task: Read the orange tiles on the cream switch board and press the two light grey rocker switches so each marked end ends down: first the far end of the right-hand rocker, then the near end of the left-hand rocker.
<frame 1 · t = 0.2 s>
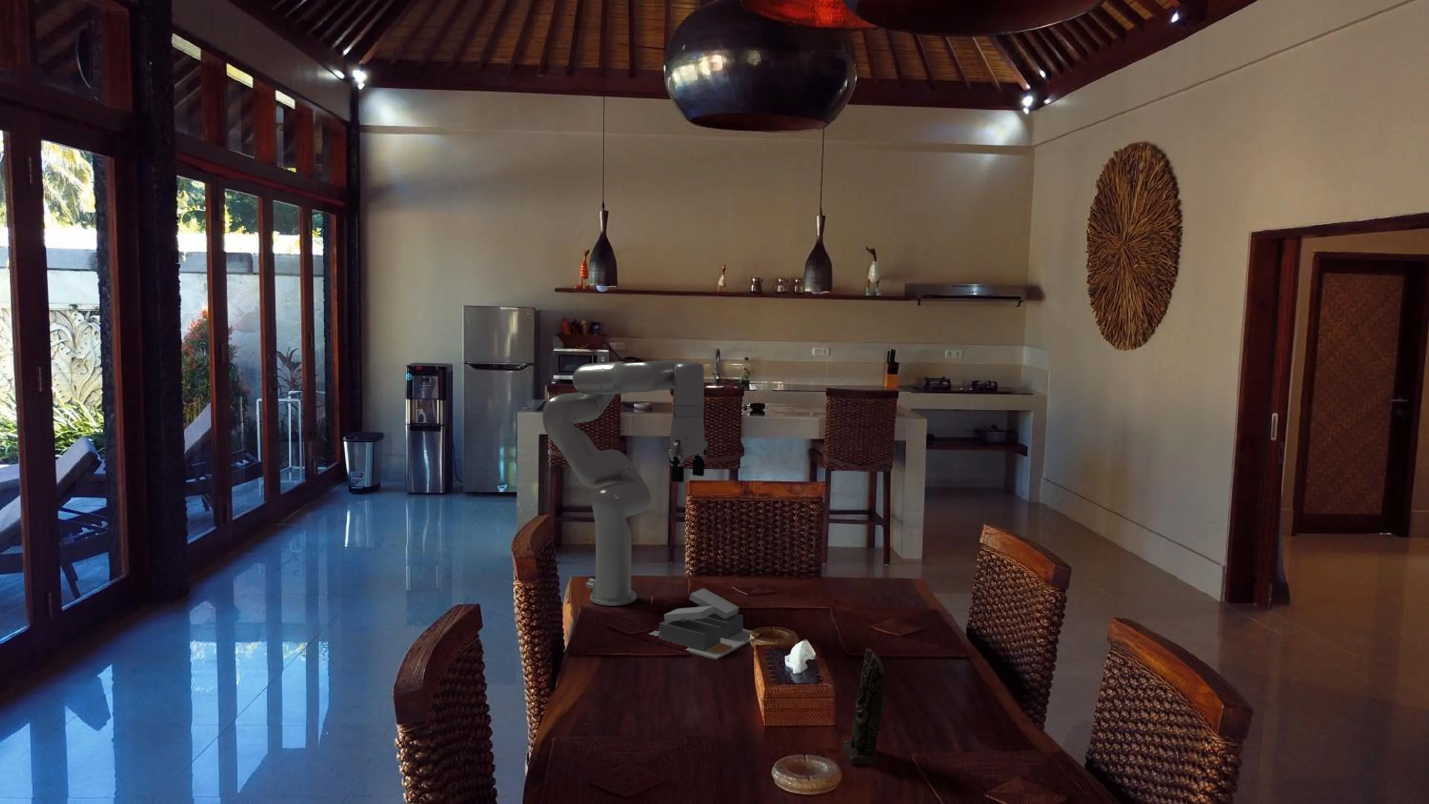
hand: (688, 478, 251), 36 cm above the table, tool pointing down, fingers open, 9 cm apart
statue: (864, 756, 181), on the table
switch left: (713, 604, 244), point 7 cm above the table, hinge at 15.0°
switch right: (689, 614, 236), point 7 cm above the table, hinge at -15.0°
switch board: (701, 637, 241), on the table
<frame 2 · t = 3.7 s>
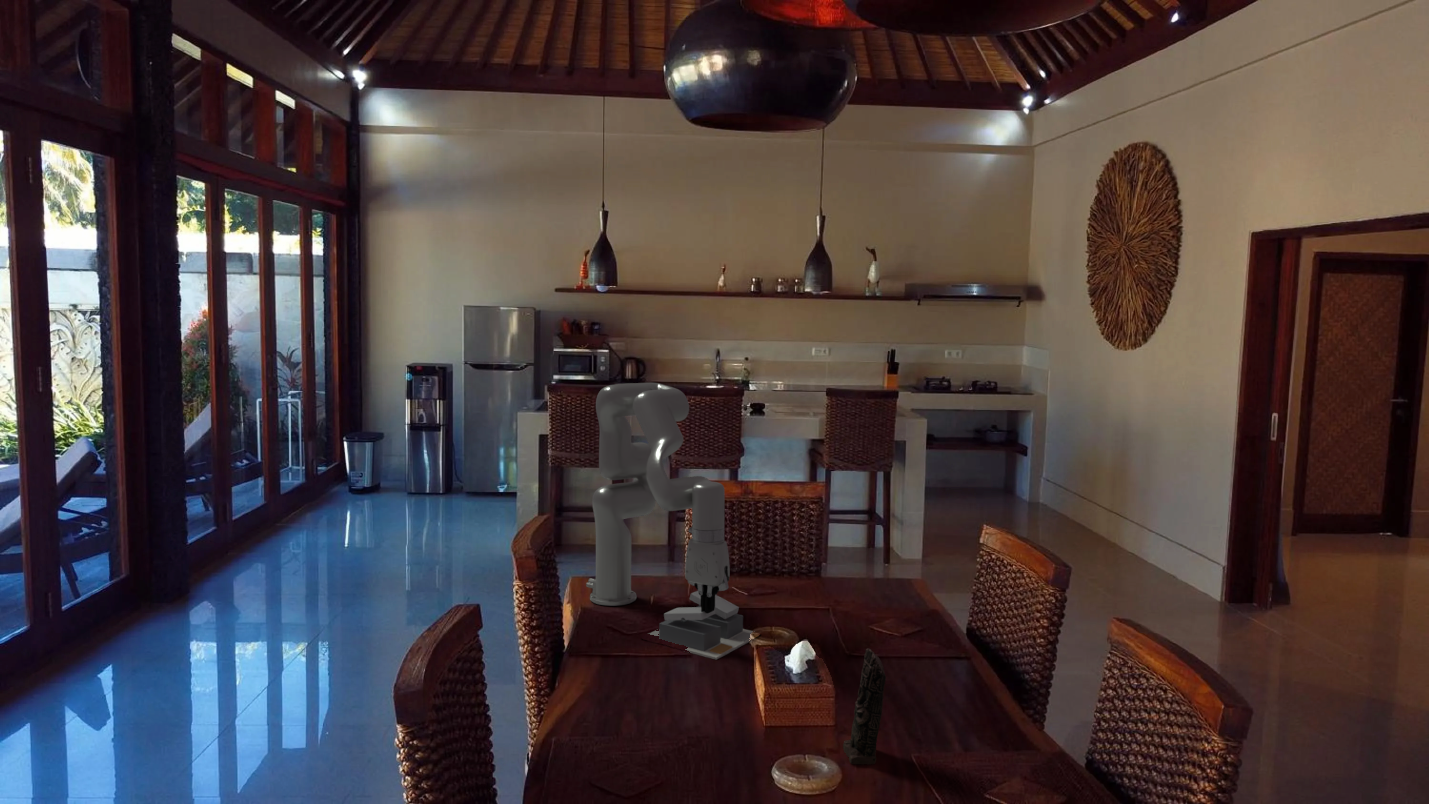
hand: (707, 611, 233), 9 cm above the table, tool pointing down, fingers closed
switch right: (689, 614, 236), point 7 cm above the table, hinge at -12.1°, touching gripper
everything else where it was.
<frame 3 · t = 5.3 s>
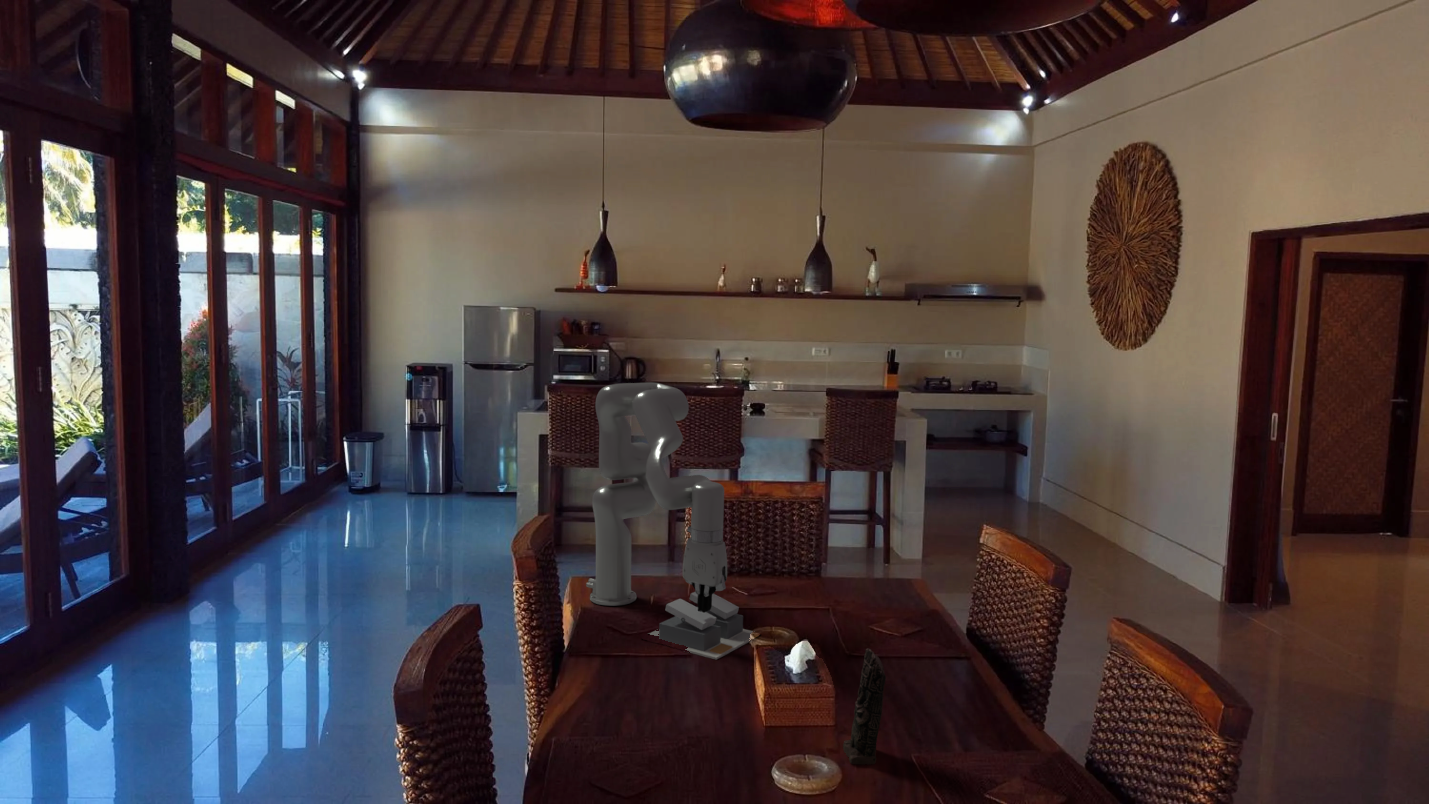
hand: (704, 610, 234), 9 cm above the table, tool pointing down, fingers closed
switch right: (690, 615, 236), point 7 cm above the table, hinge at 13.7°
everything else where it was.
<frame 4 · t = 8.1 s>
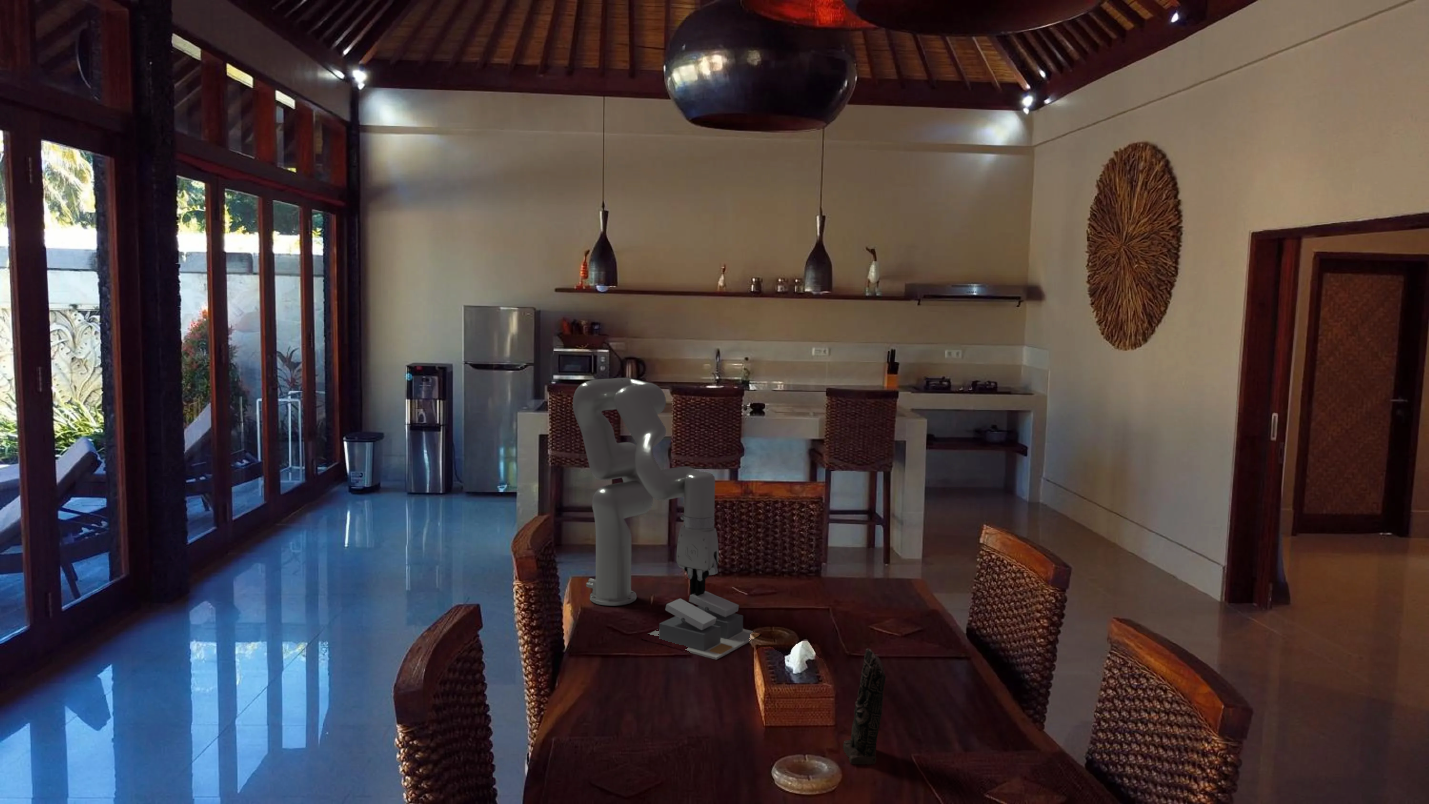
hand: (697, 593, 247), 9 cm above the table, tool pointing down, fingers closed
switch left: (713, 604, 244), point 7 cm above the table, hinge at 9.5°, touching gripper
switch right: (690, 615, 236), point 7 cm above the table, hinge at 14.2°
everything else where it was.
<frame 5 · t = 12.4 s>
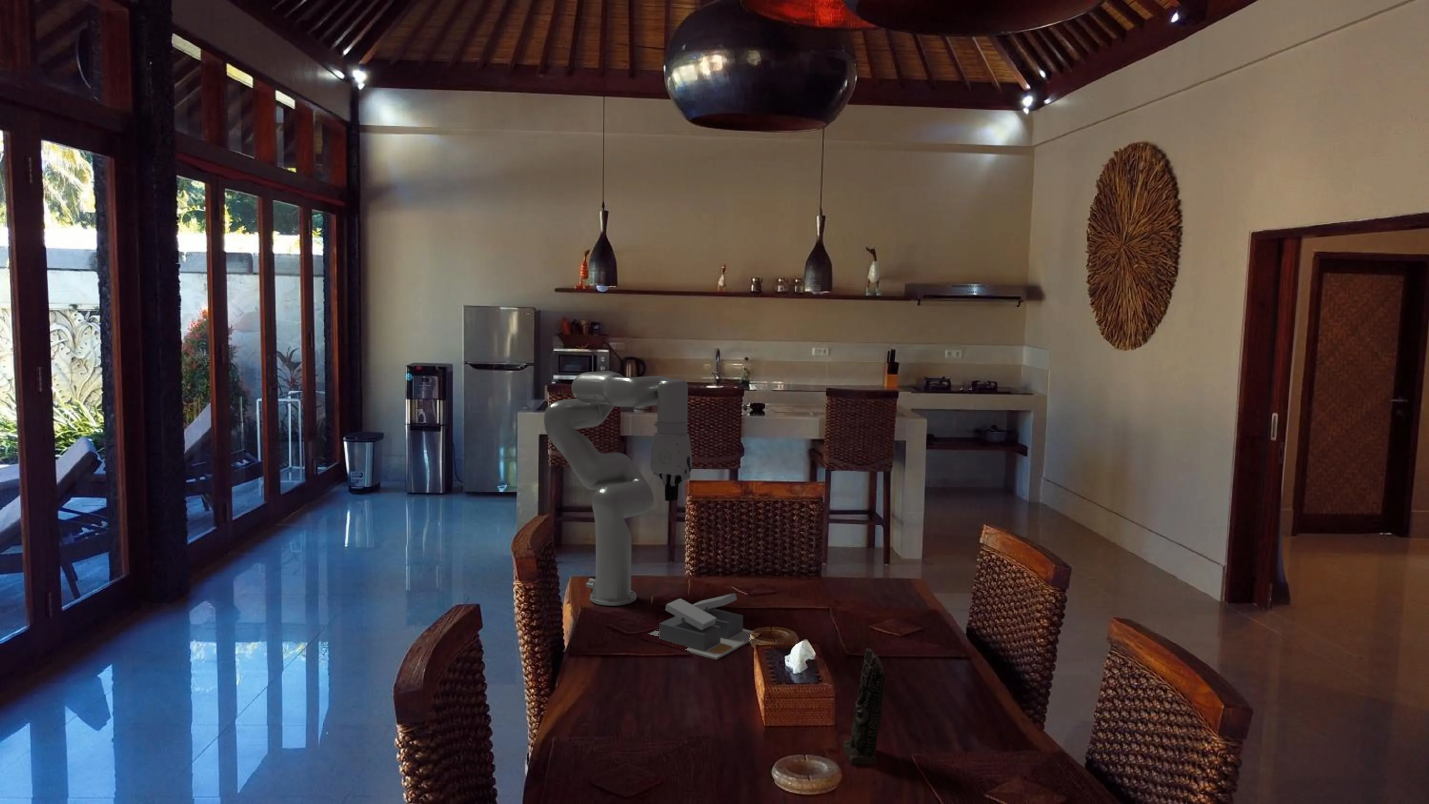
hand: (671, 500, 250), 31 cm above the table, tool pointing down, fingers closed
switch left: (712, 604, 244), point 7 cm above the table, hinge at -21.3°, touching switch board
everything else where it was.
at the end: switch right at +14° (first picture: -15°); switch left at -21° (first picture: +15°) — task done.
